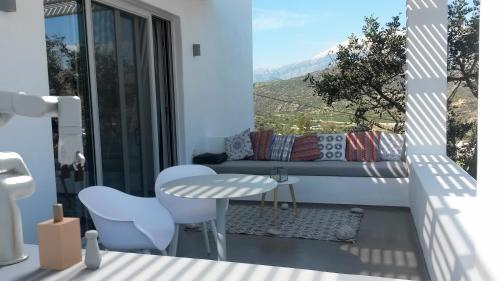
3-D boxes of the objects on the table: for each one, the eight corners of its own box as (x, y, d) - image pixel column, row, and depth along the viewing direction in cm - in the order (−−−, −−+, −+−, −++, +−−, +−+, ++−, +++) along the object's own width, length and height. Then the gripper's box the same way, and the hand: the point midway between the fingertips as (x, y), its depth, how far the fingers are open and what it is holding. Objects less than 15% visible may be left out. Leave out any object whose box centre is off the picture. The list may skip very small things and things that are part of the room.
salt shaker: (96, 270, 152) (93, 233, 151) (81, 269, 153) (78, 233, 152) (105, 264, 157) (102, 228, 157) (90, 264, 159) (88, 228, 158)
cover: (40, 268, 156) (35, 207, 155) (60, 258, 166) (56, 201, 164) (62, 270, 153) (58, 208, 152) (82, 260, 163) (78, 202, 161)
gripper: (48, 131, 157) (50, 178, 158) (71, 133, 145) (73, 184, 147) (69, 130, 162) (71, 176, 164) (92, 132, 151) (94, 181, 152)
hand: (72, 179), depth 155 cm, fingers open, 9 cm apart
